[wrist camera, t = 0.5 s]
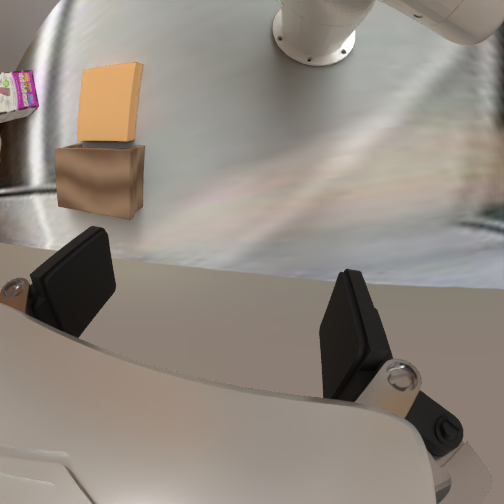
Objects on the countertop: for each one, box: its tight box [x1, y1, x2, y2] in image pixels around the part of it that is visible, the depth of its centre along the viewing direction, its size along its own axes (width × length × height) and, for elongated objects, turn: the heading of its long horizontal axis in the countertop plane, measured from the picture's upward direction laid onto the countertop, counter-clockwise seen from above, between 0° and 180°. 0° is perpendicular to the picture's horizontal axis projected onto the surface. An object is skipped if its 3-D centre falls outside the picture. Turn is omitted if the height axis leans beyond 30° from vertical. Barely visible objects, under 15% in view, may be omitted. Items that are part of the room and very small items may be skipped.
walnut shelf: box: [55, 143, 145, 220], centre depth 42 cm, size 12×18×6 cm, turn 81°
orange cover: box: [77, 62, 143, 141], centre depth 37 cm, size 14×12×3 cm
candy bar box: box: [0, 70, 39, 123], centre depth 30 cm, size 11×5×16 cm, turn 17°
